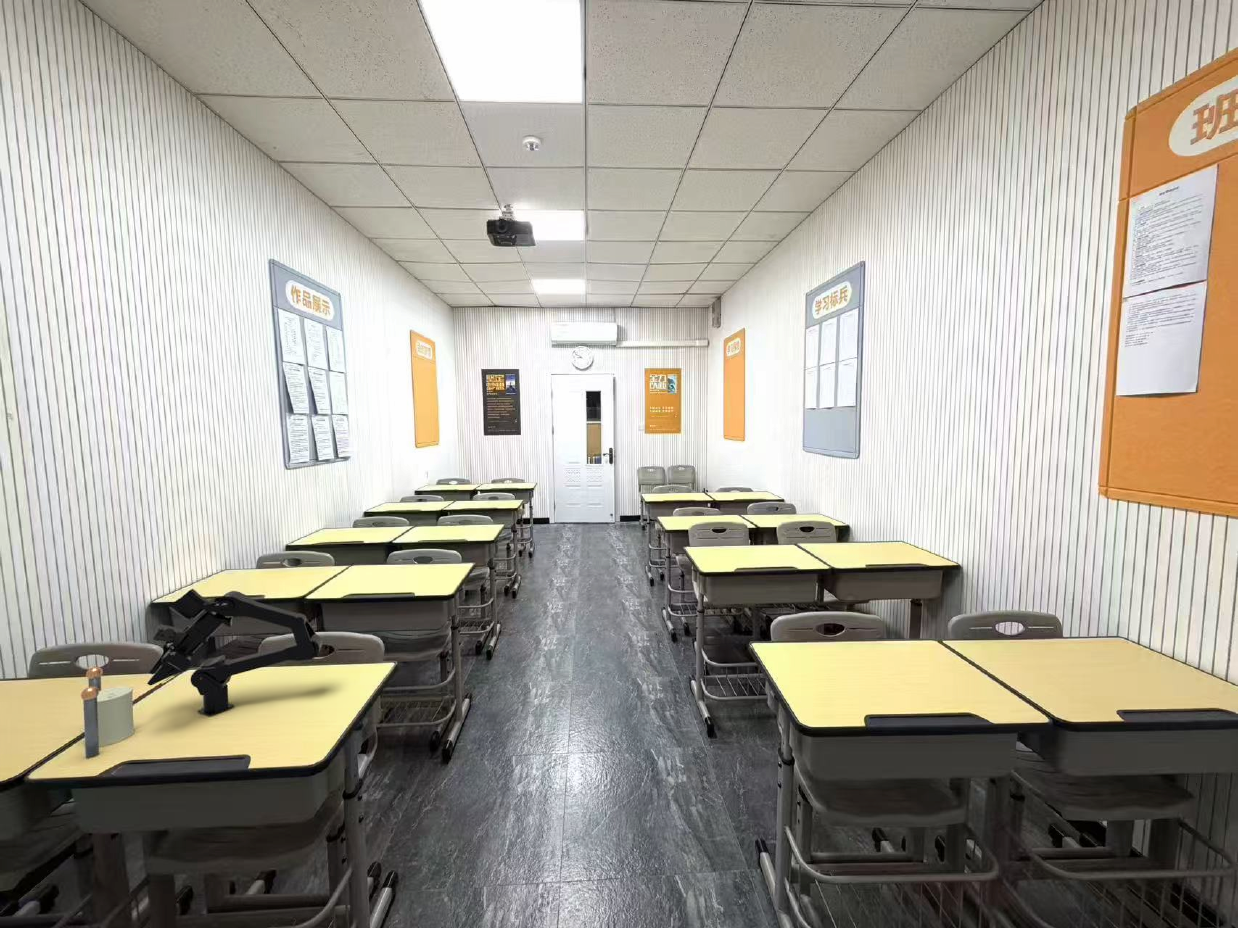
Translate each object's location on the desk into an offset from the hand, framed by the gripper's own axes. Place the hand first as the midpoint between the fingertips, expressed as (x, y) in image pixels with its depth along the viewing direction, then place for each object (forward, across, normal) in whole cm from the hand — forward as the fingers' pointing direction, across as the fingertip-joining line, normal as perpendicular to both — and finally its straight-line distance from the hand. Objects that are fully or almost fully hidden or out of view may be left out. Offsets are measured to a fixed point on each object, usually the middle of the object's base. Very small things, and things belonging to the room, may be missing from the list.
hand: (149, 678), depth 146 cm
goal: (+17, +2, +2) cm, 17 cm away
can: (+15, +2, +4) cm, 15 cm away
